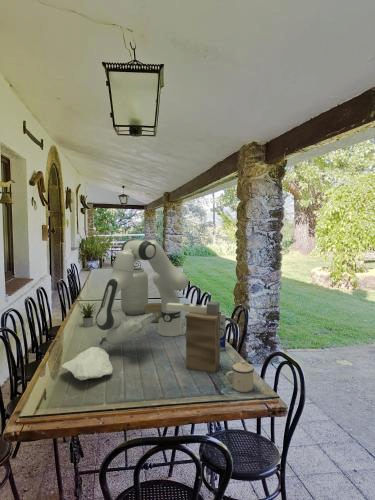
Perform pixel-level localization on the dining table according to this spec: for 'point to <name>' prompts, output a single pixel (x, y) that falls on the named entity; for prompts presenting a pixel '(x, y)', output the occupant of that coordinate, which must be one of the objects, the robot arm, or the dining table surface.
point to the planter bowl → (154, 310)
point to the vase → (135, 293)
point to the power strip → (195, 308)
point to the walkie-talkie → (103, 339)
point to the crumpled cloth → (90, 364)
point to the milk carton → (222, 332)
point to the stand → (202, 341)
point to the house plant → (87, 315)
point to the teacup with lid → (242, 376)
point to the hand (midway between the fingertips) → (154, 316)
